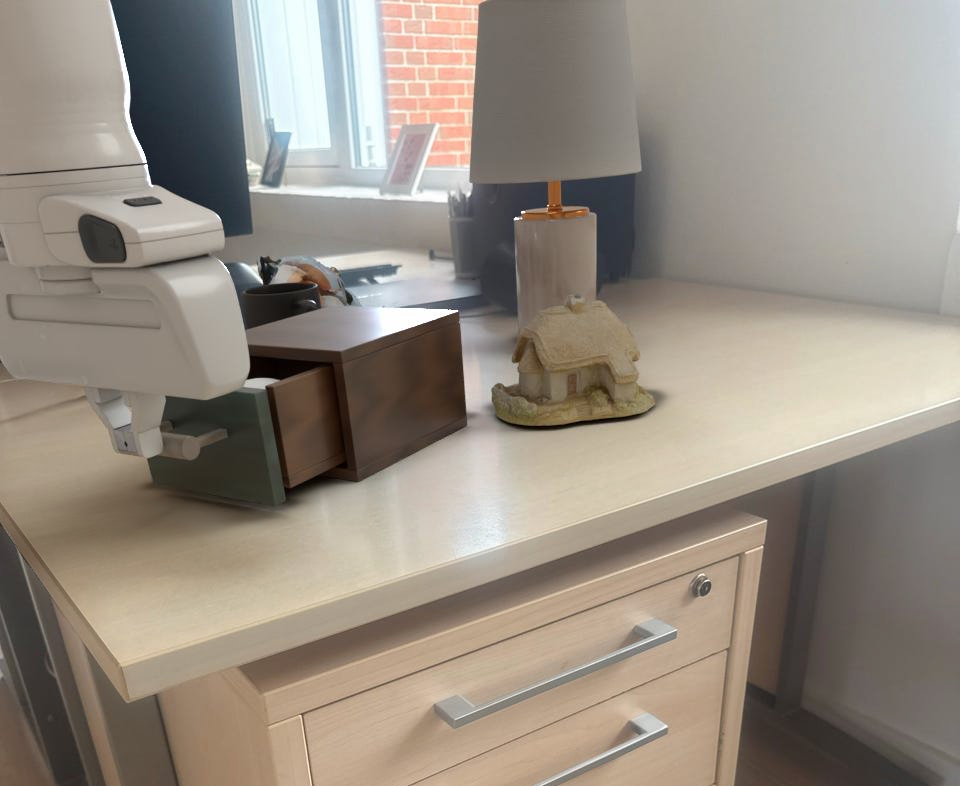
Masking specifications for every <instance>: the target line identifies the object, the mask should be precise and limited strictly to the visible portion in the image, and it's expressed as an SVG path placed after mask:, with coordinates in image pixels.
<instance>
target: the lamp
mask: <svg viewBox="0 0 960 786" xmlns="http://www.w3.org/2000/svg"><path fill="white" fill-rule="evenodd" d="M477 7H478V9H477V10H478V12H477V13H478V15H477V35H476V49H475V50H476V52H475V65H474V67H475V68H474V83H473V100H472V117H471V137H470V139H471V140H470V155H469V156H470V157H469V175H468V176H469V177H468V182H469V183H470V184H477V185H479V184H480V185H500V184H501V185H502V184H524V183H525V184H527V183H529V184H530V183H546V182H547V197H548V199H547V201H548V203H547V204H548V205H547V207H538V208H531V209H525V210H522V211H521V212H520V213H521V215H520V216H516V217H515V218H513V231H514V232H513V233H514V256H515V257H514V258H515V281H516V282H515V283H516V303H517V305H516V307H517V325H518V326H517V328H518V331H517V332H518V335H519V334H520V332H521V331H522V329H523V328H524V327H527V326H528V324H529V323H531V322H532V321H533V320H534V318H535V317H536V316H538V314H539V311H540V310H545V309H547V308H551V307H555V306H565V304H566V299H567V296H568V295H574V294H578V295H582V296H583V297H584V298H585V302H588V301H598V300H597V299H598V298H597V297H598V296H597V295H598V294H597V290H598V289H597V287H598V286H597V280H598V279H597V278H598V277H597V274H598V273H597V269H598V267H597V261H598V260H597V259H598V258H597V256H598V255H597V248H598V247H597V245H598V244H597V240H598V239H597V233H598V232H597V225H598V224H597V223H598V221H597V220H598V219H597V213H595V212H592V211H590V207H588V206H581V205H580V206H579V205H577V206H575V205H570V206H569V205H568V206H563V204H562V185H561V184H562V182H563V181H574V180H585V179H586V180H587V179H596V178H597V179H598V178H607V177H608V178H609V177H617V176H625V175H632V174H637V173H641V172H642V170H643V168H642V157H641V156H642V155H641V147H640V135H639V125H638V113H637V104H636V93H635V83H634V72H633V64H632V63H633V62H632V55H631V45H630V33H629V27H628V26H629V25H628V15H627V3H626V0H484V1H481V2H480V3H479V4H478V6H477Z"/></svg>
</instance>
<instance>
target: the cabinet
mask: <svg viewBox="0 0 960 786" xmlns="http://www.w3.org/2000/svg"><path fill="white" fill-rule="evenodd" d="M460 318H461V317H460V310H451V309H449V310H448V309H429V308H428V309H426V308H404V307H403V308H401V307H379V306H363V307H358V306H335V305H333V306H329V307H325V308H322V309H318V310H315V311H311V312H308V313H304V314H301V315H297V316H294V317H290V318H286V319H283V320H279V321H276V322H272V323H269V324H265V325H262V326H258V327H254V328H251V329H248V328H247V329H245V334H246V339H247V345H248V351H249V356H256V357H268V358H280V359H292V360H305V361H317V362H329V363H333V365H334V372H335V379H336V386H337V394H338V401H339V408H340V415H341V422H342V429H343V437H344V444H345V451H346V458H347V461H346V462H343V463H341V464H339V465H337V466H335V467H333V468H331V469H329V470H327V471H325V472H323V473H321V474H319V475H318V476H321V477H327V478H333V479H339V480H347V481H352V482H361V481H363V480H364V479H366V478H368V477H370V476H372V475H374V474H376V473H378V472H380V471H382V470H383V469H385V468H388V467H390V466H392V465H393V464H395V463H397V462H399V461H401V460H403V459H405V458H407V457H408V456H409V457H410V456H411V455H412V454H414V453H416V452H419V451H420V450H422V449H424V448H426V447H428V446H430V445H432V444H434V443H435V442H437V441H439V440H441V439H443V438H445V437H447V436H449V435H451V434H453V433H455V432H457V431H458V430H459V431H460V430H461V429H463V428H464V427H466V426H468V416H467V414H468V413H467V400H466V387H465V371H464V359H463V356H464V355H463V344H462V343H463V342H462V330H461V329H462V328H461V319H460Z"/></svg>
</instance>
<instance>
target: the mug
mask: <svg viewBox="0 0 960 786" xmlns="http://www.w3.org/2000/svg"><path fill="white" fill-rule="evenodd" d="M240 297H241V302H242V303H241V304H242V308H243V313H244V319H245V322H246V327H247V329H251V328H254V327H258V326H262V325H265V324H269V323H272V322H276V321H279V320H283V319H286V318H290V317H294V316H297V315H301V314H304V313H308V312H311V311H315V310H318V309H321V302H320V294H319V287H318V285H317V284H314V283H305V282H294V283H279V284H270V285H263V284H262V285H258V286H252V287H248V288H247V289H243V290H242V291H241V292H240Z"/></svg>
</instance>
